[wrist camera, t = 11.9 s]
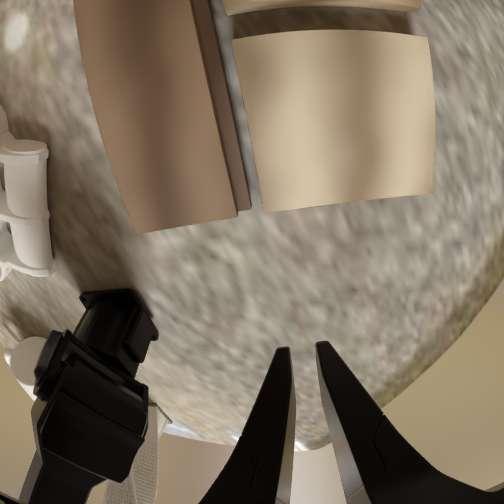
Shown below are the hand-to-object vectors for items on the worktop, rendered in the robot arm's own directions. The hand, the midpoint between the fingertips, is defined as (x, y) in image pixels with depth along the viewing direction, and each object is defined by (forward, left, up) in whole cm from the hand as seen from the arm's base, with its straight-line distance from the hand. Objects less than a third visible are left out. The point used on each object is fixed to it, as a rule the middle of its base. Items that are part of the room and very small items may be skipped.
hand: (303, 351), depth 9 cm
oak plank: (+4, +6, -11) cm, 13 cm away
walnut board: (-6, +12, -11) cm, 17 cm away
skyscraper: (-25, -30, -12) cm, 41 cm away
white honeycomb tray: (-24, +7, -12) cm, 28 cm away
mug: (-37, -16, -12) cm, 42 cm away
